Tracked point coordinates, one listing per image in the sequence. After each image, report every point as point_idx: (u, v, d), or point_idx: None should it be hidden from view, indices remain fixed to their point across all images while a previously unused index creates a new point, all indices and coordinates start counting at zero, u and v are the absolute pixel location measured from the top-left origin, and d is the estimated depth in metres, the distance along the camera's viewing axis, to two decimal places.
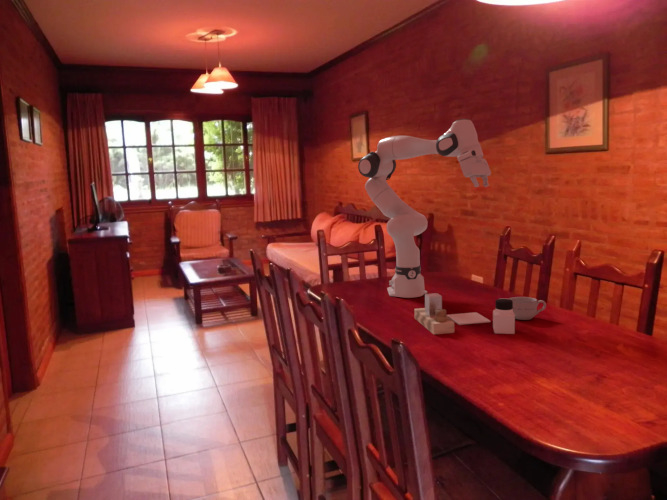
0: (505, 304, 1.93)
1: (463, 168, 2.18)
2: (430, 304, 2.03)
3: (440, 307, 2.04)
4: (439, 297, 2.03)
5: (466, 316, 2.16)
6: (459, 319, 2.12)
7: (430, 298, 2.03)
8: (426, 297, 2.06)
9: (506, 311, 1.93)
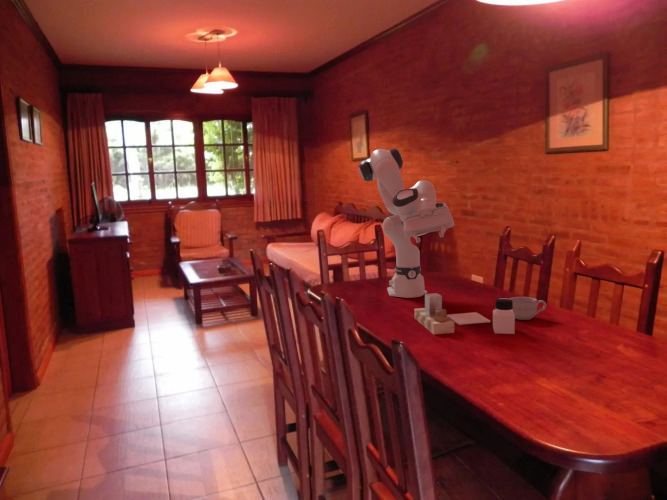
0: (505, 304, 1.93)
1: (451, 215, 2.11)
2: (430, 304, 2.03)
3: (440, 307, 2.04)
4: (439, 297, 2.03)
5: (466, 316, 2.16)
6: (459, 319, 2.12)
7: (430, 298, 2.03)
8: (426, 297, 2.06)
9: (505, 311, 1.93)
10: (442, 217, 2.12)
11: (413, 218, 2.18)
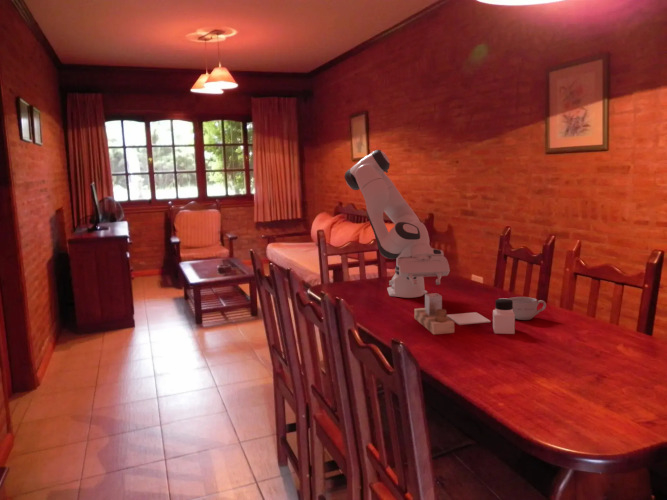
0: (505, 304, 1.93)
1: None
2: (430, 304, 2.03)
3: (440, 307, 2.04)
4: (439, 297, 2.03)
5: (466, 316, 2.16)
6: (459, 319, 2.12)
7: (430, 298, 2.03)
8: (426, 297, 2.06)
9: (505, 311, 1.93)
10: (439, 264, 2.16)
11: (409, 259, 2.17)
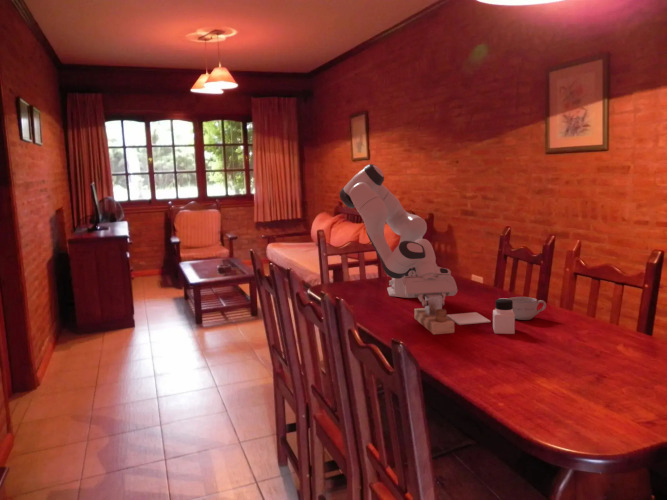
0: (505, 304, 1.93)
1: None
2: (430, 304, 2.03)
3: (440, 307, 2.04)
4: (439, 297, 2.03)
5: (466, 316, 2.16)
6: (459, 319, 2.12)
7: (430, 298, 2.03)
8: (426, 297, 2.06)
9: (505, 311, 1.93)
10: (446, 284, 2.09)
11: (415, 279, 2.10)
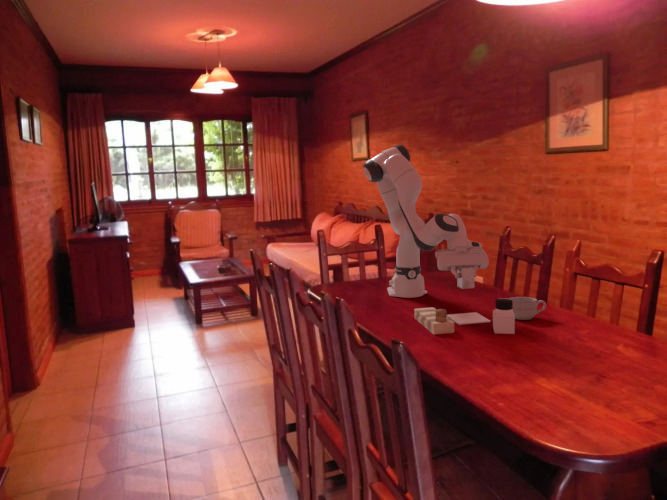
0: (505, 304, 1.93)
1: None
2: (463, 276, 2.08)
3: (473, 279, 2.09)
4: (471, 269, 2.08)
5: (466, 316, 2.16)
6: (459, 319, 2.12)
7: (463, 270, 2.07)
8: (459, 269, 2.10)
9: (505, 311, 1.93)
10: (478, 257, 2.14)
11: (448, 252, 2.15)
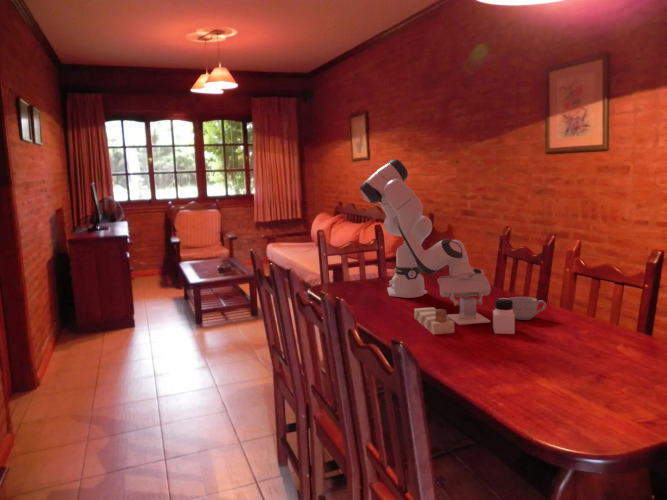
0: (505, 304, 1.93)
1: None
2: (465, 307, 2.10)
3: (475, 310, 2.11)
4: (473, 301, 2.10)
5: None
6: (459, 319, 2.12)
7: (465, 301, 2.10)
8: (461, 300, 2.13)
9: (505, 311, 1.93)
10: (480, 284, 2.16)
11: (450, 279, 2.17)
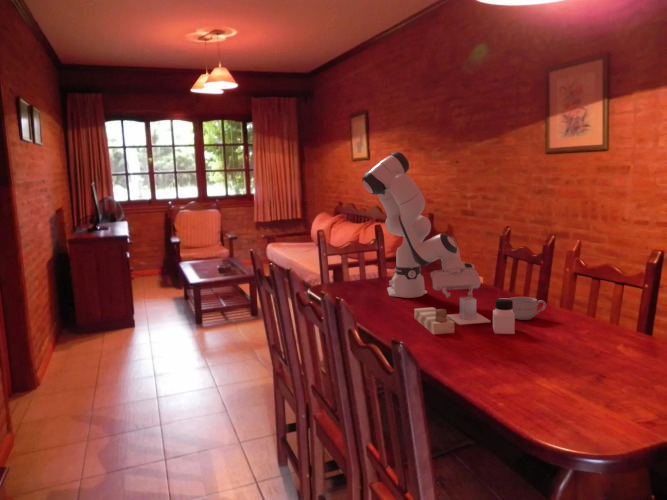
0: (505, 304, 1.93)
1: None
2: (465, 307, 2.10)
3: (475, 310, 2.11)
4: (473, 301, 2.10)
5: None
6: (459, 319, 2.12)
7: (465, 301, 2.10)
8: (461, 300, 2.13)
9: (505, 311, 1.93)
10: (471, 278, 2.28)
11: (442, 273, 2.30)
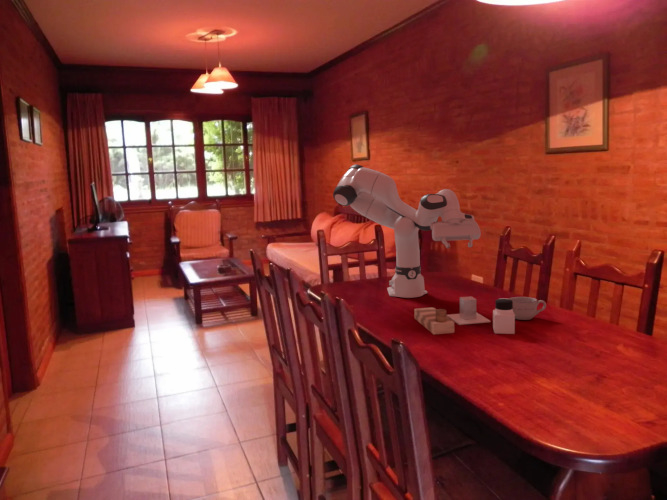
0: (505, 304, 1.93)
1: None
2: (465, 307, 2.10)
3: (475, 310, 2.11)
4: (473, 301, 2.10)
5: None
6: (459, 319, 2.12)
7: (465, 301, 2.10)
8: (461, 300, 2.13)
9: (505, 311, 1.93)
10: (471, 228, 2.25)
11: (442, 224, 2.27)
